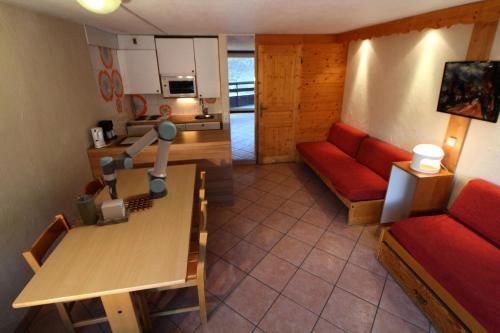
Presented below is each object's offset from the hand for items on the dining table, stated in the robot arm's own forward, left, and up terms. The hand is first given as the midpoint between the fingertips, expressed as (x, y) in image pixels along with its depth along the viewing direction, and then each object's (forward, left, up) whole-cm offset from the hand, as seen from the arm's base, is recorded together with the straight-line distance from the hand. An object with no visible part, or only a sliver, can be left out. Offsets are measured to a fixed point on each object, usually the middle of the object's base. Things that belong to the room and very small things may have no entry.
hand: (116, 207), depth 186 cm
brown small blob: (+12, -4, -2) cm, 13 cm away
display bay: (0, +11, -2) cm, 12 cm away
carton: (0, +9, -2) cm, 9 cm away
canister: (+15, +10, -2) cm, 18 cm away
